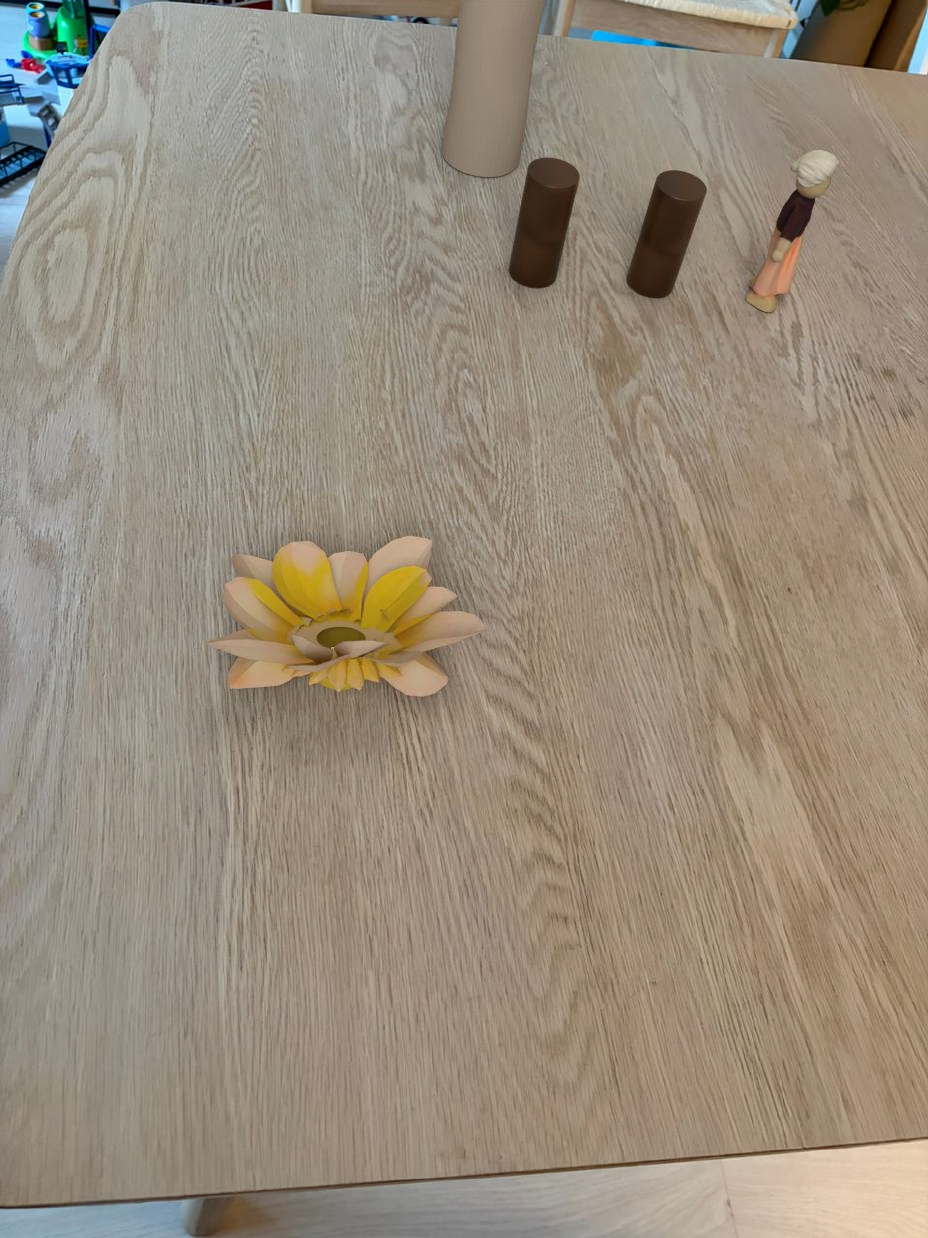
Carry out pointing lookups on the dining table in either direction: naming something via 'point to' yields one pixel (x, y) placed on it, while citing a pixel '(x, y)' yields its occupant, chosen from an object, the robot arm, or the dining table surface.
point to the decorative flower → (341, 618)
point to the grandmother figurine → (791, 229)
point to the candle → (491, 85)
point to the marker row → (550, 216)
